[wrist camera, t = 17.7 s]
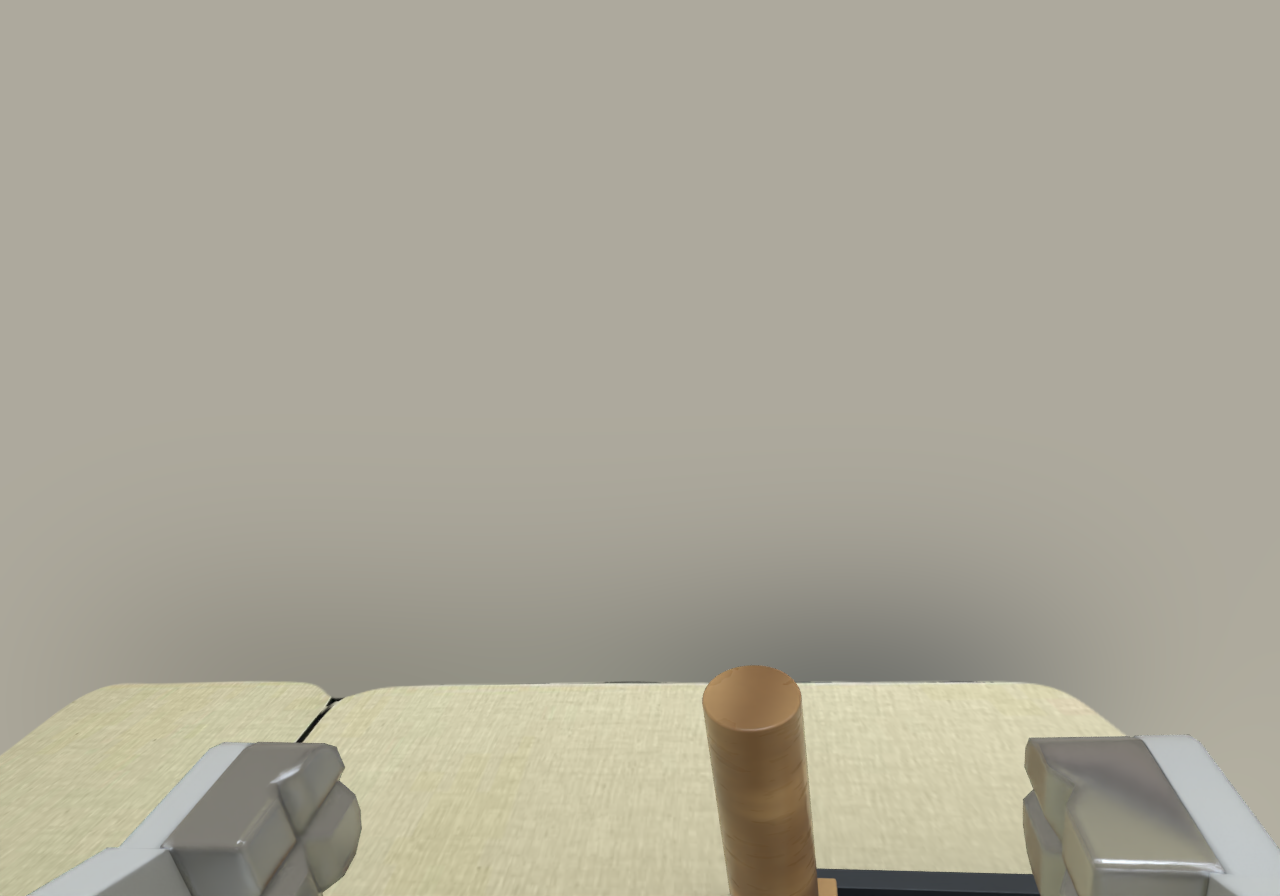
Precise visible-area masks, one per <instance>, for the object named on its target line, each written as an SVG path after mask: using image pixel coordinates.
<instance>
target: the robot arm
mask: <svg viewBox="0 0 1280 896" xmlns="http://www.w3.org/2000/svg"><path fill="white" fill-rule="evenodd" d="M344 769H345V766H344V764H343V761H342V759H341V757H340V754H339V752H338V750H337V747H335V746H332V745H328V744H325V743H282V742H257V743H239V742H223V743H221V744H219V745H217V746H214V747H212V748H210V749H209V750H208V751H207V752H206V753H205V754H204V755H203V756H202V757H201V759H200V760H199V761H198V762H197V763H196V764H195V765H194V766H193V767H192V768H191V769H190V771H189V772H188V773H187V774H186V775H185V776H184V777H183V778H182V779H181V780H180V781H179V782H178V784H177V785H176V786H175V787H174V788H173V789H172V790H171V791H170V792H169V793H168V794H167V795H166V797H165V798H164V799H163V800H162V801H161V802H160V803H159V804H158V805H157V806H156V807H155V808H154V810H153V811H152V812H151V813H150V814H149V815H148V816H147V817H146V818H145V819H144V820H143V821H142V823H141V824H140V825H139V826H138V827H137V828H136V829H135V830H134V831H133V832H132V833H131V834H130V836H129V837H128V838H127V839H126V840H125V841H124V842H123V843H122V844H121V845H120V846H119V847H114V848H106V849H104V850H102V851H101V852H99V853H97V854H96V855H94V856H92V857H91V858H89V859H87V860H85V861H84V862H82V863H80V864H79V865H77V866H75V867H74V868H72V869H70V870H69V871H67V872H65V873H64V874H62V875H60V876H59V877H57V878H55V879H53V880H52V881H50V882H48V883H47V884H45V885H43V886H42V887H40V888H38V889H37V890H35V891H33V892H32V893H30V894H28V895H27V896H323V892H324V891H325V890H327V889H328V888H329V887H330V886H332V885H333V884H334V883H336V882H337V881H338V880H339V879H341V878H342V877H343V876H344V875H345V873H346V871H347V869H348V867H349V866H350V864H351V862H352V860H353V858H354V856H355V855H356V851H357V847H358V842H359V838H360V834H361V830H362V826H361V810H360V807H359V804H358V801H357V798H356V796H355V794H354V793H353V792H352V791H350V790H349V789H348V788H347V787H346V786H345V785H344V784H342V783H341V782H340V781H339V780H340V778H341V775H342V773H343V771H344ZM1025 769H1026V772H1027V774H1028V777H1029V779H1030V782H1031V784H1032V787H1033V790H1032V791H1031V792H1030V793H1029V794H1028V795H1027V796H1026V797H1025V798H1024V799H1023V828H1024V835H1025V842H1026V849H1027V854H1028V858H1029V862H1030V865H1031V869H1032V873H1033V876H1034V879H1035V882H1036V884H1037V887H1038V890H1039V893H1040V896H1280V849H1279V847H1278V846H1277V845H1276V844H1275V842H1274V841H1273V839H1272V838H1271V837H1270V835H1269V834H1268V833H1267V831H1266V830H1265V829H1264V827H1263V826H1262V824H1261V823H1260V822H1259V820H1258V819H1257V818H1256V816H1255V815H1254V814H1253V812H1252V811H1251V810H1250V808H1249V807H1248V806H1247V805H1246V803H1245V802H1244V800H1243V799H1242V798H1241V796H1240V795H1239V793H1238V792H1237V791H1236V790H1235V788H1234V787H1233V785H1232V784H1231V783H1230V781H1229V780H1228V779H1227V777H1226V776H1225V775H1224V773H1223V772H1222V770H1221V769H1220V768H1219V766H1218V765H1217V764H1216V763H1215V761H1214V760H1213V758H1212V757H1211V756H1210V754H1209V753H1208V752H1207V750H1206V749H1205V748H1204V746H1203V745H1202V743H1200V741H1198V740H1197V739H1195V738H1194V737H1192V736H1191V735H1145V736H1134V737H1129V736H1121V737H1056V738H1029V740H1028V743H1027V745H1026V749H1025Z"/></svg>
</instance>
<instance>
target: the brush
mask: <svg viewBox="0 0 1280 896" xmlns="http://www.w3.org/2000/svg"><path fill="white" fill-rule="evenodd" d="M702 704H703V711H704V718H705V725H706V732H707V738H708V745H709V752H710V759H711V766H712V773H713V780H714V787H715V793H716V800H717V807H718V814H719V821H720V828H721V835H722V842H723V848H724V855H725V862H726V869H727V876H728V883H729V890H730V896H838V893H837V882H836V880H835V879H833V878H817V869H816V858H815V847H814V835H813V824H812V812H811V801H810V789H809V778H808V766H807V755H806V743H805V732H804V721H803V709H802V698H801V692H800V689H799V687H798V686H797V684H796V683H795V681H794V680H793V679H792V678H791V677H790V676H788V675H787V674H785V673H783V672H782V671H780V670H777V669H774V668H771V667H766V666H759V665H750V666H740V667H736V668H732V669H729V670H727V671H725V672H723V673H721V674H719V675H718V676H716V677H715V678H714V679H713V680H712V681H711V682H710V683H709V684H708V685H707V687H706V689H705V691H704V694H703V698H702Z"/></svg>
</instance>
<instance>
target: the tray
mask: <svg viewBox="0 0 1280 896" xmlns="http://www.w3.org/2000/svg"><path fill="white" fill-rule="evenodd" d="M817 878H833V879H835V880H836V882H837V893H838V896H1040V893H1039V890H1038V887H1037V884H1036V882H1035V879H1034V876H1033V874H1001V873H963V872H925V871H887V870H849V869H817Z"/></svg>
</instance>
